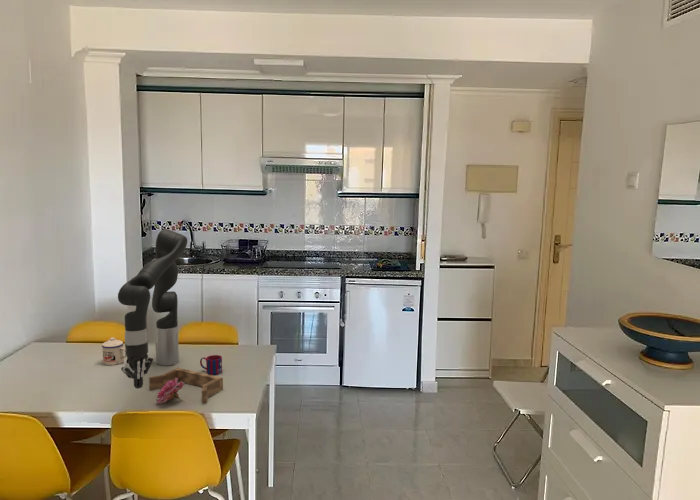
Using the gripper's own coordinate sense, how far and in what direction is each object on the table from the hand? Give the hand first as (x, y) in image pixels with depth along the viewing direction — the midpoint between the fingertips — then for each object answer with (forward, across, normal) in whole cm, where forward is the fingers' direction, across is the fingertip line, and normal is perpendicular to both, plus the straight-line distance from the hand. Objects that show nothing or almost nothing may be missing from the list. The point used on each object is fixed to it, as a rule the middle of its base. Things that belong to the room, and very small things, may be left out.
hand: (138, 387), depth 190 cm
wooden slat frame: (+10, -25, 0) cm, 27 cm away
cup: (+10, -45, -5) cm, 47 cm away
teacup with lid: (+10, -34, -51) cm, 62 cm away
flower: (+11, -14, +1) cm, 18 cm away
